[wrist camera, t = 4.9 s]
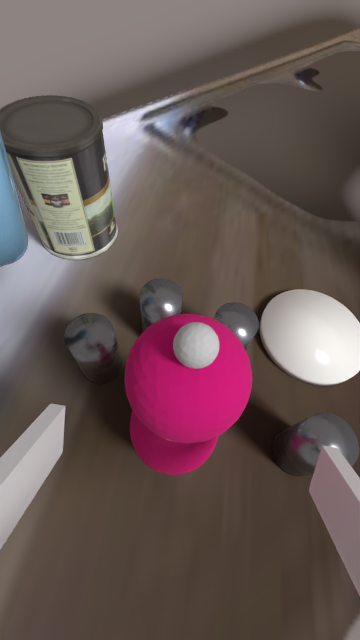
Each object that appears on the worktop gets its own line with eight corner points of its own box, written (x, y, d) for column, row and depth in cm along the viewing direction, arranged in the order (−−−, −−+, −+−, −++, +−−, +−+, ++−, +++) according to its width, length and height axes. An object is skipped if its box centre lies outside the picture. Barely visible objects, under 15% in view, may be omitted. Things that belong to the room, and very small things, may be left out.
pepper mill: (133, 397, 29) (102, 258, 12) (205, 394, 30) (273, 258, 13) (132, 480, 25) (86, 450, 8) (214, 474, 26) (327, 435, 9)
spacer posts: (75, 342, 32) (56, 306, 26) (223, 295, 36) (237, 256, 30) (134, 565, 23) (126, 590, 17) (322, 464, 27) (370, 456, 21)
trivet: (240, 310, 35) (243, 305, 35) (320, 283, 38) (324, 278, 38) (297, 402, 30) (301, 400, 29) (384, 363, 33) (390, 360, 32)
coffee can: (100, 199, 44) (79, 87, 32) (130, 244, 40) (119, 135, 28) (30, 219, 41) (-23, 103, 29) (54, 271, 36) (3, 160, 24)
